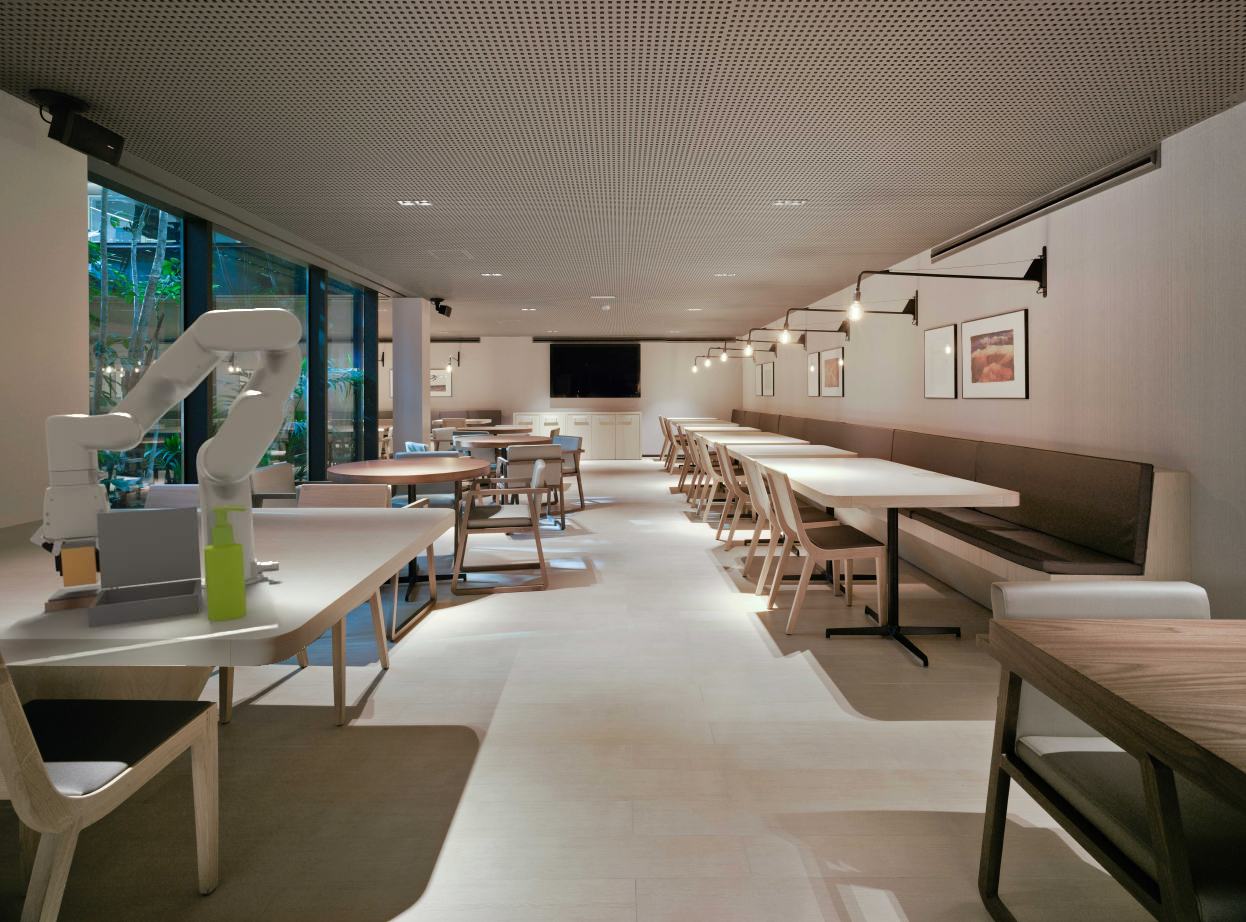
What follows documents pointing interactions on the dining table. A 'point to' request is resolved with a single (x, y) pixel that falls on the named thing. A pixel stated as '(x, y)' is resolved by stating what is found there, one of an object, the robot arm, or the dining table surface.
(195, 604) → the case
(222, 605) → the soap dispenser
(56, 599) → the pad
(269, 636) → the dining table surface
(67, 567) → the block
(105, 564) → the lid
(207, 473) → the robot arm
